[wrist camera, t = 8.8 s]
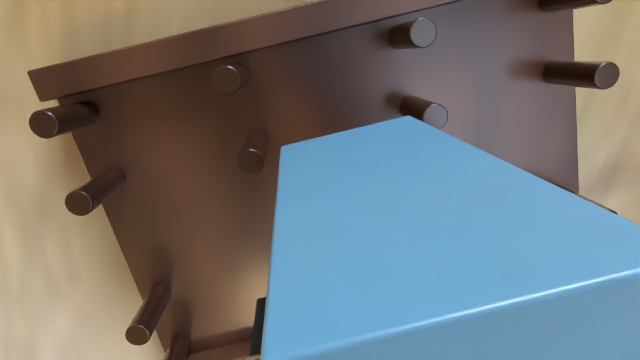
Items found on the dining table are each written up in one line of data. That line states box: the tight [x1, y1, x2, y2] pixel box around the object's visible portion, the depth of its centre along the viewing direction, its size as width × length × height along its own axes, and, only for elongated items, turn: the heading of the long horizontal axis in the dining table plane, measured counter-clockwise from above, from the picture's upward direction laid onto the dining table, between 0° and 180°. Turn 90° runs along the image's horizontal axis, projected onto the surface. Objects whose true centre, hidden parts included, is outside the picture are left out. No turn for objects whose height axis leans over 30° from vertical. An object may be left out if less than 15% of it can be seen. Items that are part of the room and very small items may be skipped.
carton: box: [260, 116, 640, 360], centre depth 9 cm, size 8×4×9 cm, turn 13°
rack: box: [27, 0, 619, 360], centre depth 18 cm, size 22×16×4 cm
